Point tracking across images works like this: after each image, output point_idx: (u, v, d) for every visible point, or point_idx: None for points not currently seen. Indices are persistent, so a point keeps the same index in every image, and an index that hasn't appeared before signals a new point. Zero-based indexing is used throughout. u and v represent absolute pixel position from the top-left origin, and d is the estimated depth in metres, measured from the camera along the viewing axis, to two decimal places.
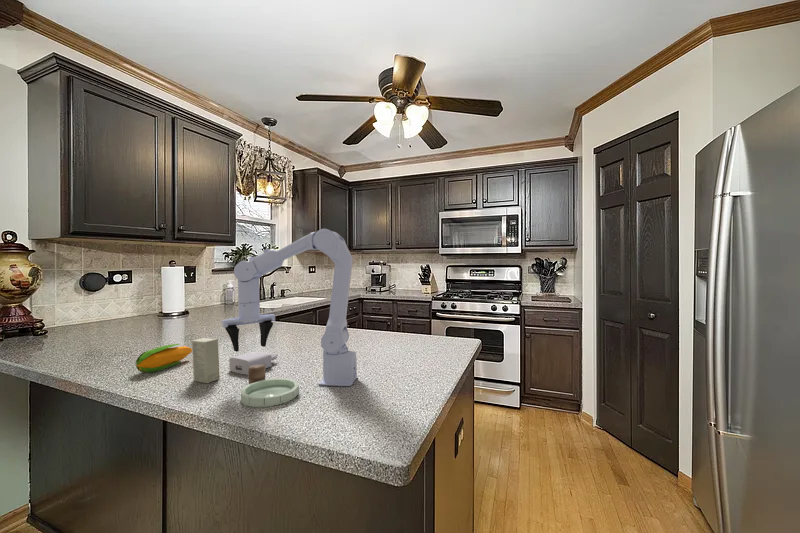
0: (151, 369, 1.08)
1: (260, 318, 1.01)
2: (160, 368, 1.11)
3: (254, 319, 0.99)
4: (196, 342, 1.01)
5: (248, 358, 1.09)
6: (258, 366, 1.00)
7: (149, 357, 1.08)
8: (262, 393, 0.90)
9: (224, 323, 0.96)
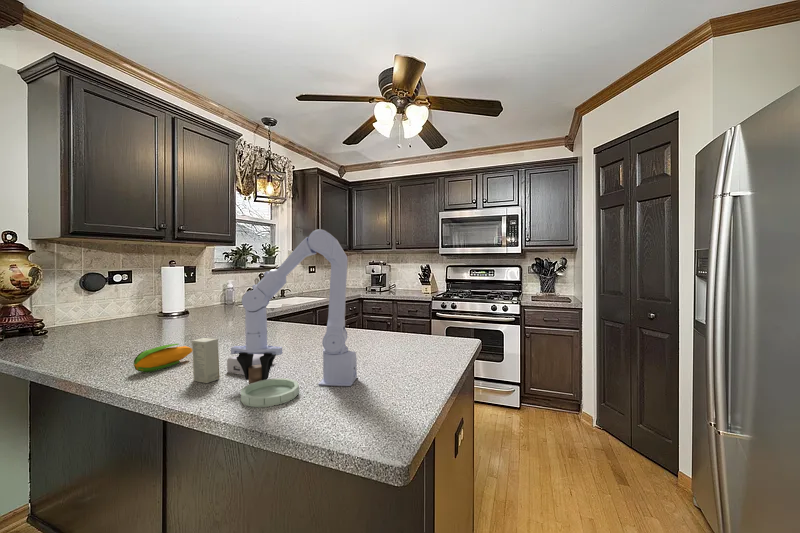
0: (149, 369, 1.09)
1: (260, 350, 0.96)
2: (158, 368, 1.11)
3: (252, 351, 0.96)
4: (196, 342, 1.01)
5: None
6: (258, 366, 1.00)
7: (146, 357, 1.08)
8: (262, 393, 0.90)
9: (231, 350, 0.99)
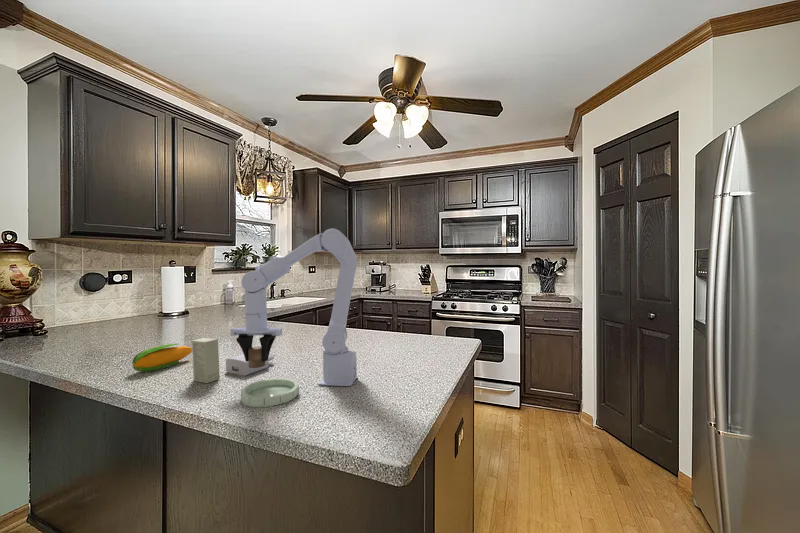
0: (147, 369, 1.09)
1: (260, 331, 0.96)
2: (156, 368, 1.11)
3: (252, 332, 0.96)
4: (196, 342, 1.01)
5: None
6: (258, 347, 1.00)
7: (145, 357, 1.09)
8: (262, 393, 0.90)
9: (231, 331, 0.98)
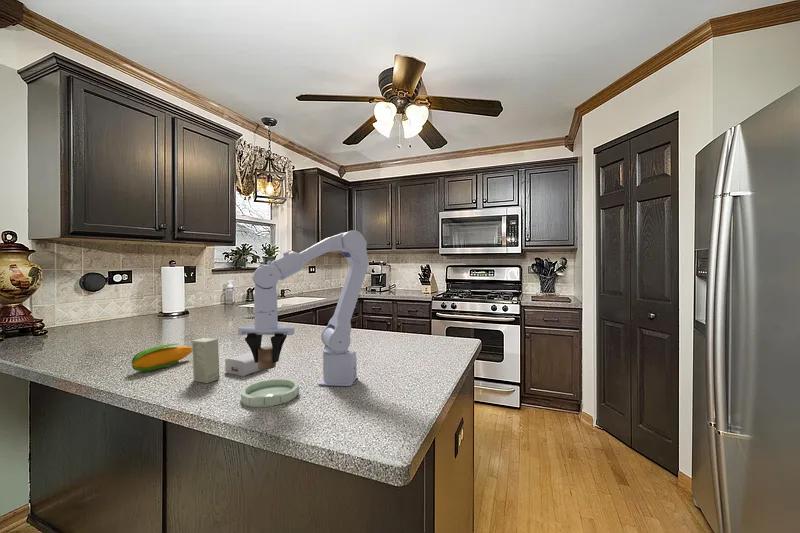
0: (146, 369, 1.09)
1: (271, 330, 0.90)
2: (155, 368, 1.11)
3: (262, 331, 0.89)
4: (196, 342, 1.01)
5: (244, 359, 1.08)
6: (268, 347, 0.93)
7: (144, 357, 1.09)
8: (262, 393, 0.90)
9: (239, 330, 0.91)
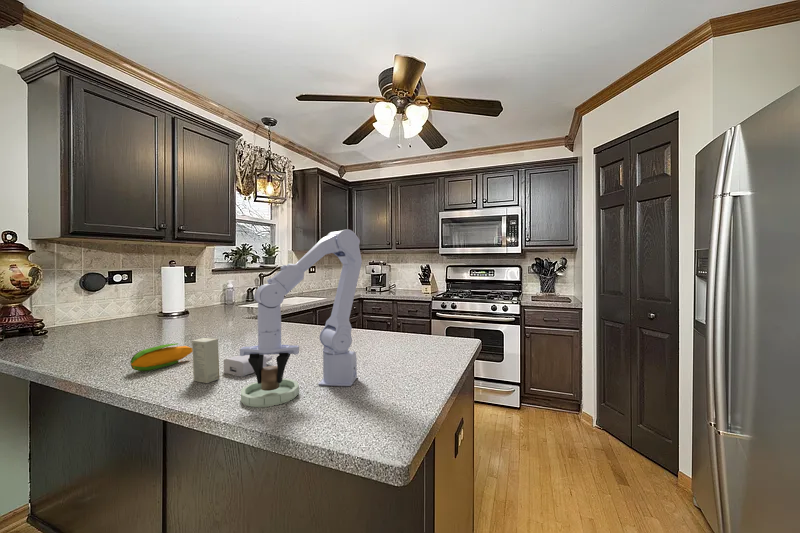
0: (145, 368, 1.09)
1: (276, 350, 0.88)
2: (154, 367, 1.11)
3: (268, 351, 0.87)
4: (196, 342, 1.01)
5: (242, 359, 1.08)
6: (271, 367, 0.91)
7: (142, 356, 1.09)
8: (262, 393, 0.90)
9: (240, 351, 0.88)
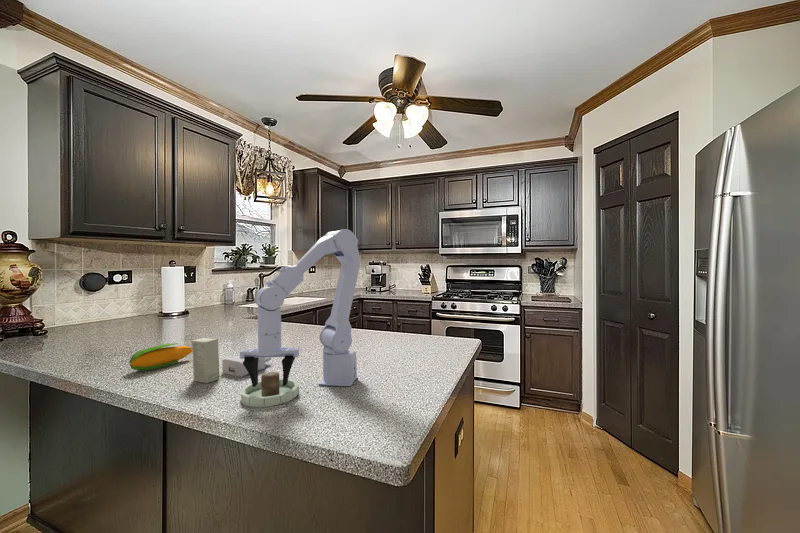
0: (144, 368, 1.10)
1: (276, 353, 0.88)
2: (153, 367, 1.12)
3: (268, 354, 0.87)
4: (196, 342, 1.01)
5: (241, 360, 1.07)
6: (271, 373, 0.91)
7: (141, 356, 1.09)
8: None
9: (240, 354, 0.88)
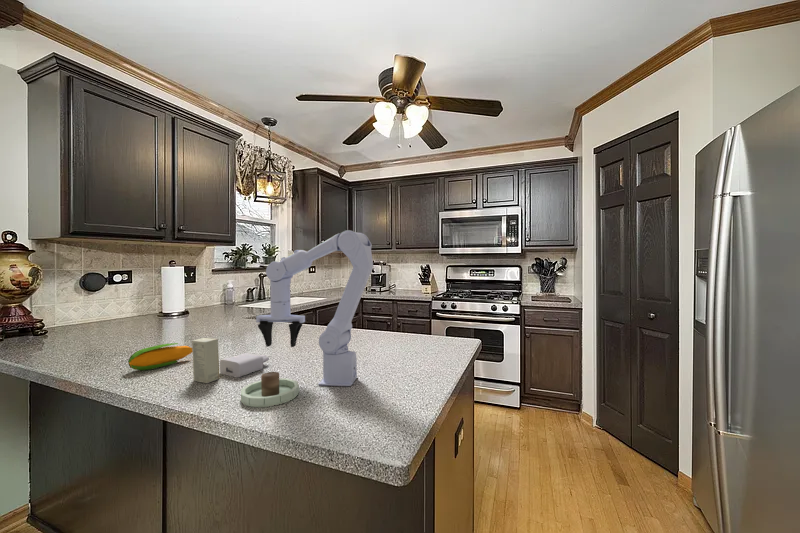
0: (142, 368, 1.10)
1: (284, 318, 1.02)
2: (152, 367, 1.12)
3: (277, 318, 1.02)
4: (196, 342, 1.01)
5: (239, 360, 1.07)
6: (271, 373, 0.91)
7: (140, 356, 1.10)
8: None
9: (257, 318, 1.04)
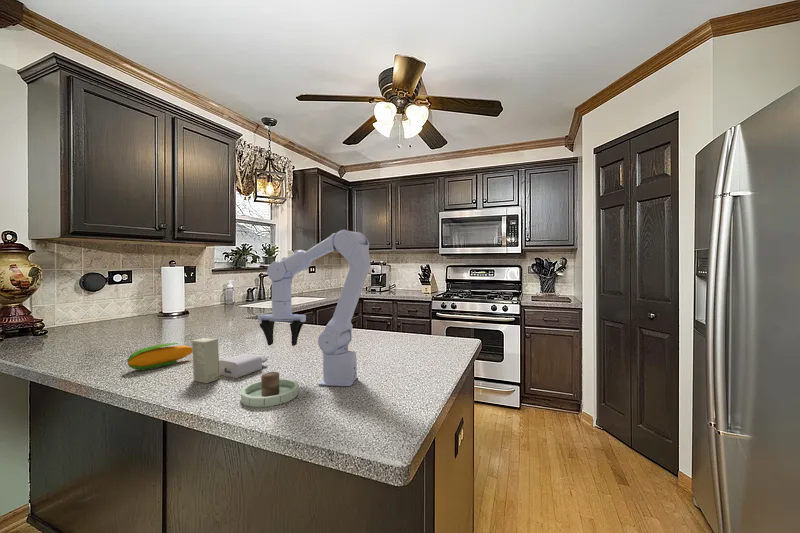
0: (141, 367, 1.11)
1: (285, 317, 1.04)
2: (151, 367, 1.12)
3: (278, 317, 1.03)
4: (196, 342, 1.01)
5: (237, 361, 1.07)
6: (271, 373, 0.91)
7: (139, 355, 1.11)
8: None
9: (258, 317, 1.06)
